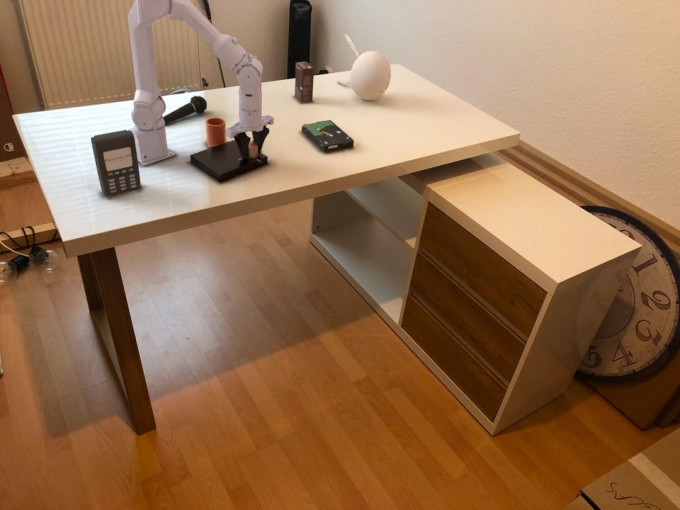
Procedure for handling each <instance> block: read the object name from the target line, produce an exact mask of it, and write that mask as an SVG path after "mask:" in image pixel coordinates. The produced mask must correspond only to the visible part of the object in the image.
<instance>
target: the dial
mask: <svg viewBox="0 0 680 510" xmlns="http://www.w3.org/2000/svg"><path fill="white" fill-rule="evenodd" d="M257 157H258V143H257V142H255V141H253V140H250V142H249V147H248V158H247V159H255V158H257Z"/></svg>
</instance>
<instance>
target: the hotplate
mask: <svg viewBox="0 0 680 510" xmlns="http://www.w3.org/2000/svg"><path fill="white" fill-rule="evenodd" d="M263 152H264V151H263V150H261V153H260V154H258V157H257V158H255V159H247V158H246V159H245V158H243V157H242V156H241V154H240V151H239V148H238V145H237V143H236V141H235V139H231V140H230V141H226V143H223V144H220V145H217V146H214V147H212V148H210V147H209V148H205V149H203V150H200V151H197V152H194V153H191V154H190V155H189V158H190V160H189V161H190V164H191V165H193V166H194V167H196V168H197V169H199V170H200V171H202V172H203V173H205V174H206V175H208V176H209V177H210V178H212V179H213V180H215V181H217V182H218V183H220V184H221V183H224V182H226V181H229V180H232V179H235V178H237V177H240V176H242V175H244V174H247V173H249V172H252V171H254V170H257V169H260V168H262V167H265V166H267V165H268V163H269V162H268V159H269V157H268V155H266V154H265V153H263Z"/></svg>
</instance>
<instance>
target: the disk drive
mask: <svg viewBox="0 0 680 510" xmlns="http://www.w3.org/2000/svg"><path fill="white" fill-rule="evenodd" d="M301 132H302V134H304V136H306V138H308V139H309V140H310V141H311V142H312V143H313V144H314V145H315V146H316V147H317V148H318V149H319V150H320V151H321V152H322V153H332V152H337V151H343V150H348V149H352V148H354V144H355V140H354V139H353V138H352V137H351V136H350V135H348V134H347V132H345V131H344V130H343V129H342V128H341V127H340V126H338V125H337V124H336V123H335V122H334V121H333V120H332V119H328V120H320V121H315V122H311V123H306V124H305V123H303V124H302V126H301Z"/></svg>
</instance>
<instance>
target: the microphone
mask: <svg viewBox="0 0 680 510" xmlns="http://www.w3.org/2000/svg"><path fill="white" fill-rule="evenodd" d="M207 108H208V102H207V100H206V99H205V98H204V97H203V96H201V95H194V96H192V97H191V98H190V100H189V102H187V103H186V104H184V105H182V106H180V107H179V108H176V109H174V110H173V111H171V112H170V113H167V114H166V115H164V116H163V119H164V121H165V126H166V125H169V124H171V123H173V122H176V121H178V120H180V119H183V118H186V117H188V116H190V115H192V114H195V113H196V114H198V115H201V114H204V113H205V111H206V110H207Z"/></svg>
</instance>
